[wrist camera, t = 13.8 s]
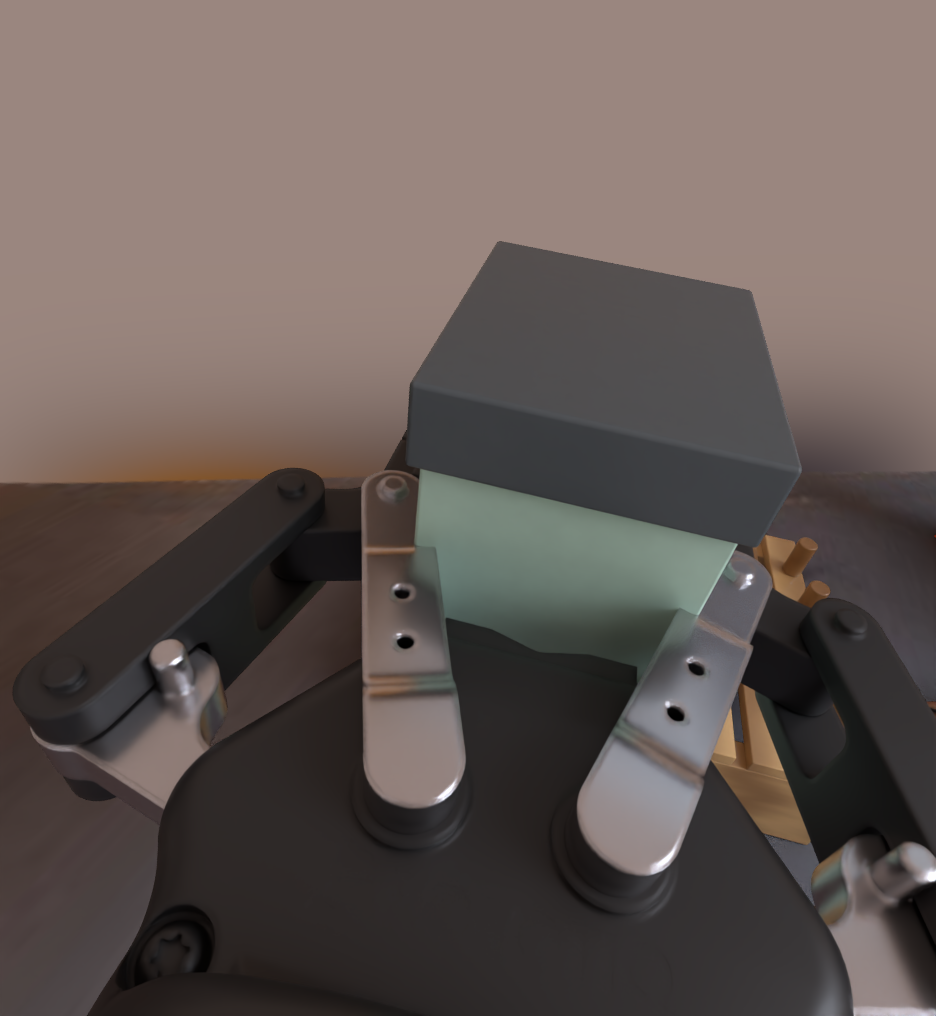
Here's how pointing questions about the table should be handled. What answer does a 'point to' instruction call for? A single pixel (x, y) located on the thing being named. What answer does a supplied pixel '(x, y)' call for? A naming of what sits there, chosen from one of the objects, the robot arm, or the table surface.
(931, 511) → the table surface
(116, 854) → the table surface
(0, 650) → the table surface
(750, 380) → the snack box
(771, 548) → the rack
